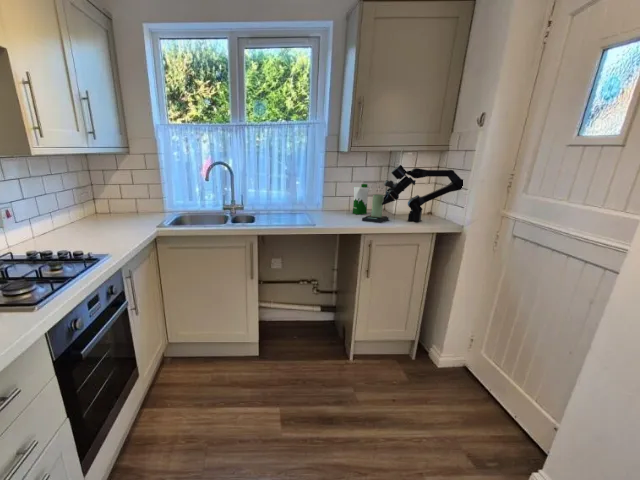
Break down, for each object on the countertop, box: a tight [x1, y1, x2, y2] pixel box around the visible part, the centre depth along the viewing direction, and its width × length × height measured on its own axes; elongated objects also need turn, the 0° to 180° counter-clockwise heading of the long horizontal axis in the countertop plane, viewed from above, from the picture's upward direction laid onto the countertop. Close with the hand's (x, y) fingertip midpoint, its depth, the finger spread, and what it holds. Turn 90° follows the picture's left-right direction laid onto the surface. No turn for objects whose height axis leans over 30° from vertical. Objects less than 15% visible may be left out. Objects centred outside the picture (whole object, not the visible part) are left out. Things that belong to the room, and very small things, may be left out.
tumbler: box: [370, 194, 385, 217], centre depth 226 cm, size 6×6×13 cm
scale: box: [361, 214, 390, 224], centre depth 228 cm, size 12×12×3 cm
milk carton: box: [352, 183, 370, 216], centre depth 251 cm, size 9×9×20 cm
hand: (381, 203), depth 225 cm, fingers open, 9 cm apart
